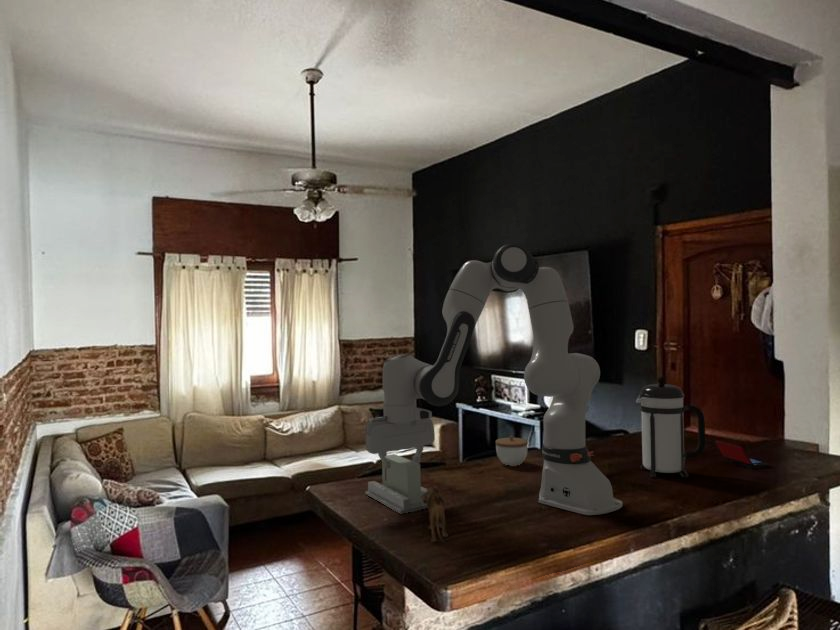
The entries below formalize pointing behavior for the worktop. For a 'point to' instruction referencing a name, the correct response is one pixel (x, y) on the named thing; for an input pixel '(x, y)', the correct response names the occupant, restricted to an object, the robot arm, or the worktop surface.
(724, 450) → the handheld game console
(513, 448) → the lidded jar
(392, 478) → the door panel
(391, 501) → the bottom track
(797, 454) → the worktop surface
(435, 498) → the lion figurine
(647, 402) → the coffee press
